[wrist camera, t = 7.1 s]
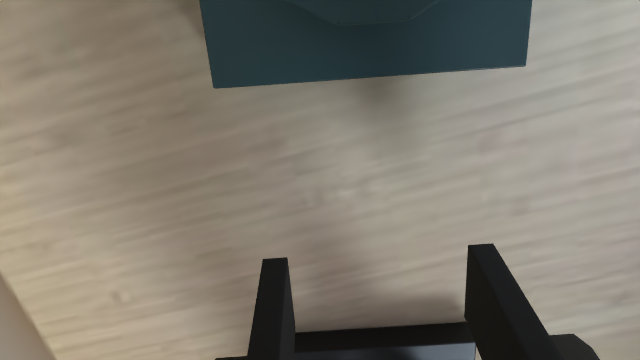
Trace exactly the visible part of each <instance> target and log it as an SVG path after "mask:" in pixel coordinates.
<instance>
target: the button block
mask: <svg viewBox="0 0 640 360" xmlns="http://www.w3.org/2000/svg"><path fill="white" fill-rule="evenodd" d="M199 1H200V8H201V14H202V20H203V26H204V33H205V39H206V45H207V51H208V58H209V64H210V70H211V76H212V83H213V87H214V88H215V89H218V88H232V87H246V86H260V85H274V84H288V83H302V82H315V81H329V80H343V79H357V78H371V77H385V76H399V75H413V74H426V73H440V72H454V71H468V70H482V69H496V68H510V67H524V66H526V59H527V49H528V38H529V28H530V18H531V7H532V0H199Z"/></svg>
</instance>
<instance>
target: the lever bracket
mask: <svg viewBox="0 0 640 360" xmlns="http://www.w3.org/2000/svg"><path fill="white" fill-rule="evenodd" d="M475 354H476V344H475V341H474V339H473V336H472V334H471V332H470V329H469V327H468V324H467V322H463V323H446V324H430V325H414V326H398V327H382V328H366V329H349V330H333V331H317V332H301V333H295V347H294V360H475Z"/></svg>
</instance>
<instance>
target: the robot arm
mask: <svg viewBox="0 0 640 360" xmlns="http://www.w3.org/2000/svg"><path fill="white" fill-rule="evenodd" d="M464 317H465V319H466V322H467V324H468V327H469V329H470V332H471V334H472V336H473V339H474V341H475V344H476V346H477V349H478V351H479V353H480V356H481V358H482V360H600V359H599V358H598V356H597V355H596V353H595V352H594V350H593V349H592V348H591V347H590V346H589V345H587V344H586V343H585V342H584V341H582V340H581V339H580V338H578V337H577V336H576V335H574V334H563V335H549V334H548V333H547V331H546V330H545V328H544V326H543V325H542V323H541V321H540V320H539V318H538V316H537V315H536V313H535V312H534V310H533V308H532V307H531V305H530V303H529V302H528V300H527V298H526V297H525V295H524V293H523V292H522V290H521V289H520V287H519V285H518V284H517V282H516V280H515V279H514V277H513V275H512V274H511V272H510V271H509V269H508V267H507V266H506V264H505V262H504V261H503V259H502V257H501V256H500V254H499V252H498V251H497V249H496V248H495V246H494V244H478V245H468V258H467V276H466V295H465V313H464ZM294 347H295V320H294V311H293V302H292V293H291V285H290V276H289V267H288V259H287V257H286V258H271V259H263V261H262V268H261V274H260V280H259V286H258V292H257V298H256V305H255V311H254V317H253V323H252V329H251V335H250V342H249V348H248V354H247V356H241V357H225V358H216V359H215V360H294Z"/></svg>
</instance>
